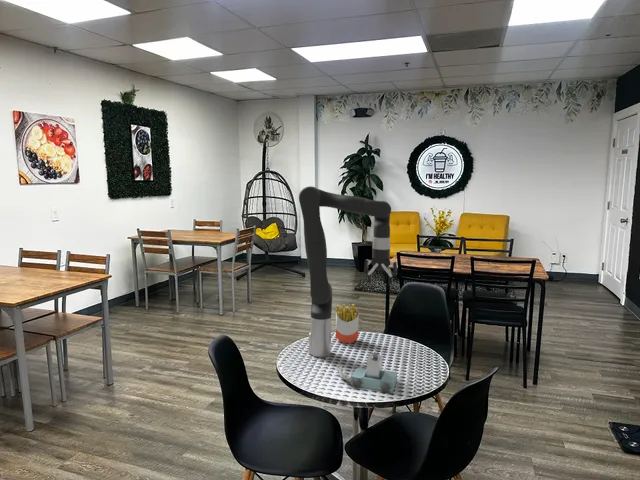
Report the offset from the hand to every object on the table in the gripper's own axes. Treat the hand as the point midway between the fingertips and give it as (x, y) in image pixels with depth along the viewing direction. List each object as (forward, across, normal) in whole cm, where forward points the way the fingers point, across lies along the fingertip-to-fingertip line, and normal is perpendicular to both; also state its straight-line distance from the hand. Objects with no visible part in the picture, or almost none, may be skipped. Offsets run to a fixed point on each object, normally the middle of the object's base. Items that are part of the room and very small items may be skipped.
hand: (380, 284), depth 189 cm
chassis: (+33, +4, -26) cm, 42 cm away
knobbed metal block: (+32, +4, -26) cm, 41 cm away
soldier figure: (+33, -8, -27) cm, 44 cm away
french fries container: (+33, -18, +13) cm, 40 cm away
